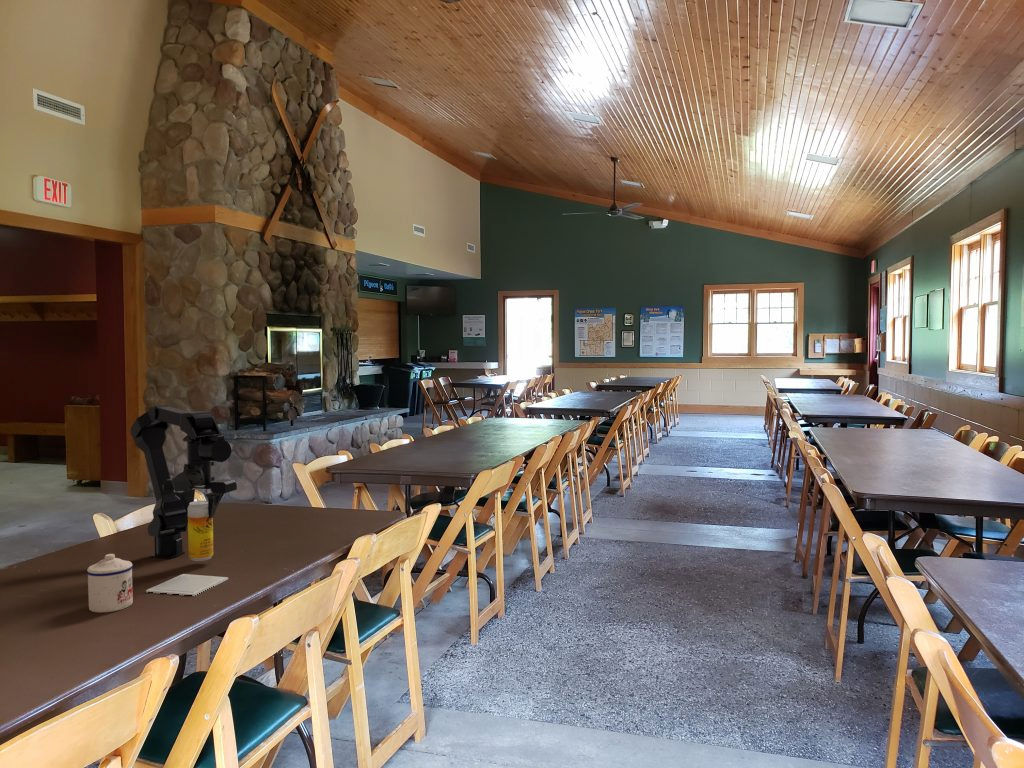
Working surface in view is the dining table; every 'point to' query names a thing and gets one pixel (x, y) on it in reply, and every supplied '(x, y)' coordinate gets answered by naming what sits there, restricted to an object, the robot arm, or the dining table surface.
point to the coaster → (187, 584)
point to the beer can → (200, 531)
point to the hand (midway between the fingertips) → (200, 517)
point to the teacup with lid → (110, 584)
